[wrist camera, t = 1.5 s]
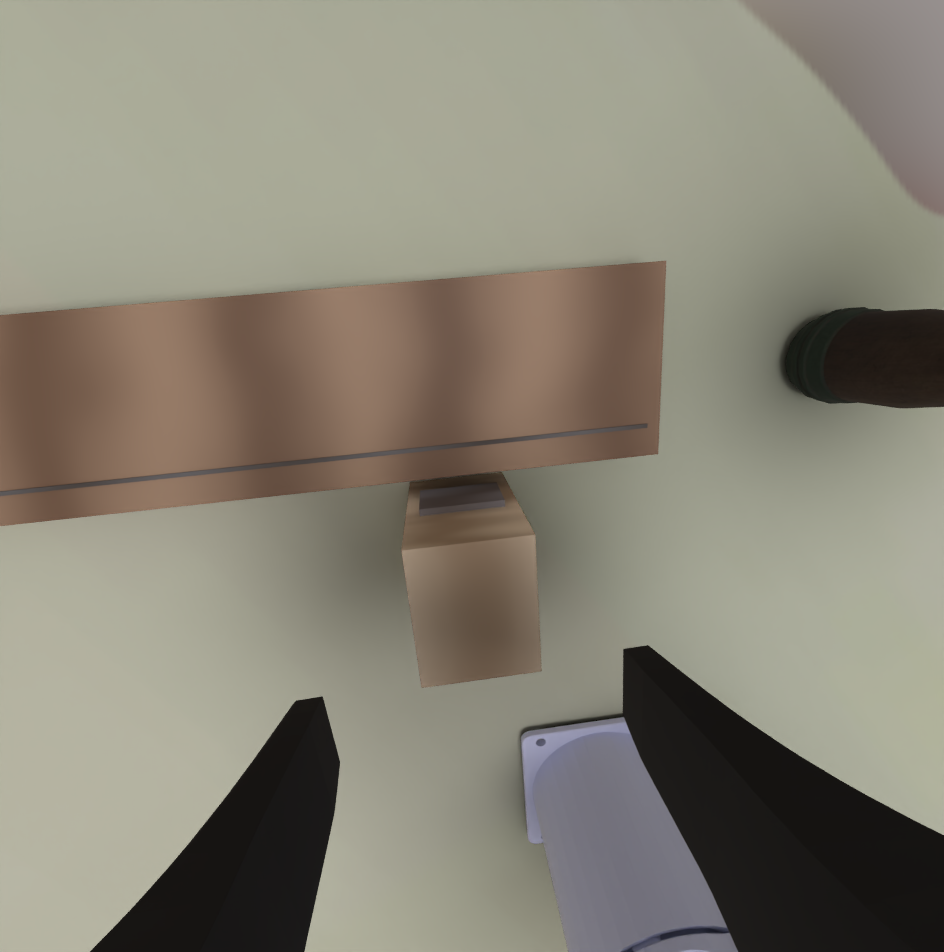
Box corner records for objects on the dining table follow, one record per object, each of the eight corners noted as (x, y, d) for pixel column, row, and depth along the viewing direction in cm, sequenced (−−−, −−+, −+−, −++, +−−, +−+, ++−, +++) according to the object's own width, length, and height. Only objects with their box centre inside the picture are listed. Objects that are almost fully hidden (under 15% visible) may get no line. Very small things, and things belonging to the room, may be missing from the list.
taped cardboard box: (501, 466, 20) (534, 527, 13) (508, 573, 21) (541, 671, 15) (409, 476, 19) (400, 542, 13) (423, 583, 21) (421, 687, 15)
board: (640, 269, 18) (667, 260, 16) (635, 442, 20) (658, 454, 18) (-129, 332, 16) (-208, 332, 14) (-43, 515, 18) (-101, 537, 16)
